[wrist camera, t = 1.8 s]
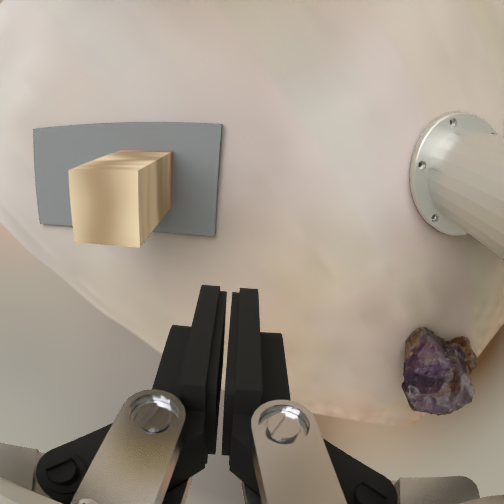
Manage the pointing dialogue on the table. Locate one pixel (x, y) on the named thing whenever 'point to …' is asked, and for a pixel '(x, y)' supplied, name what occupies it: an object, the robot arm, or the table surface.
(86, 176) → the maple block
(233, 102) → the table surface
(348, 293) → the table surface
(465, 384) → the rock
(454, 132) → the robot arm
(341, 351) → the table surface
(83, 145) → the mat
